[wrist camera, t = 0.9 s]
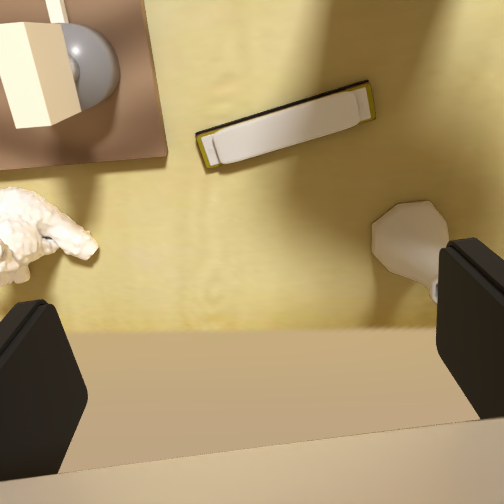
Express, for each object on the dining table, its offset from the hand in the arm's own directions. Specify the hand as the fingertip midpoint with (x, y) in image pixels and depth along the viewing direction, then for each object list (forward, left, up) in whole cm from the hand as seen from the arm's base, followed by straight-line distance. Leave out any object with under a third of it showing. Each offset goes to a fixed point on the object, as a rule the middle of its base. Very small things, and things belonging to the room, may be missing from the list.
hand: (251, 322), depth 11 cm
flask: (+12, +14, -29) cm, 35 cm away
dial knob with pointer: (-9, -12, -27) cm, 31 cm away
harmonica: (+1, +3, -30) cm, 30 cm away
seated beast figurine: (+8, -20, -29) cm, 36 cm away
